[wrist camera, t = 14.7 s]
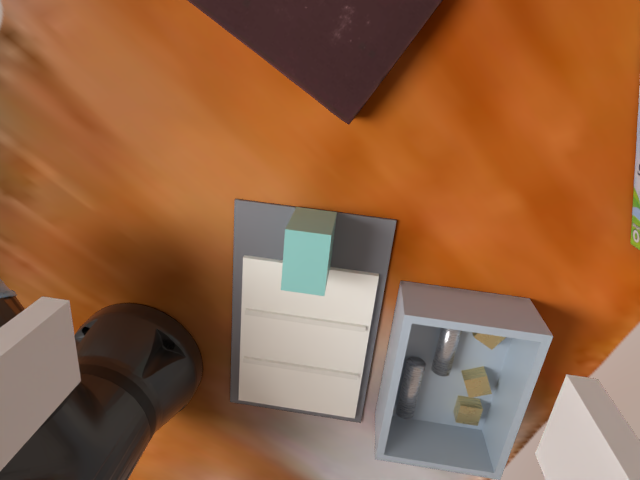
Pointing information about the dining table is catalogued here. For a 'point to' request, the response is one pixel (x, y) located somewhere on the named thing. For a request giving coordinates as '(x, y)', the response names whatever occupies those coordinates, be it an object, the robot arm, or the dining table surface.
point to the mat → (348, 253)
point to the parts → (474, 378)
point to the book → (326, 41)
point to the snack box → (636, 191)
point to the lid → (305, 322)
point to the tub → (459, 378)
